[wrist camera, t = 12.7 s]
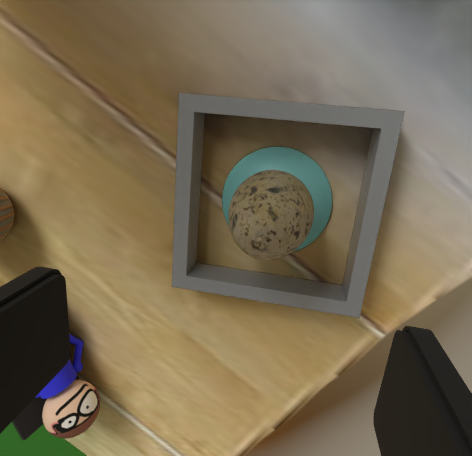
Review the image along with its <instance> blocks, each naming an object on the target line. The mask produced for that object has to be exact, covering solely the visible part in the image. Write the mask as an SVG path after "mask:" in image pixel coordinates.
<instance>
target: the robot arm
mask: <svg viewBox="0 0 472 456" xmlns="http://www.w3.org/2000/svg"><path fill="white" fill-rule="evenodd" d="M70 353H71V350H70V337H69V323H68V309H67V295H66V281H65V278H64V276H62V275H61V273H60V271H59V270H57V269H51V268H44V267H36V268H33V269H32V270H30V271H28V272H26V273H24V274H23V275H21V276H19V277H17V278H15V279H14V280H12V281H10V282H8V283H7V284H5V285H3V286H1V287H0V434H1V433H2V432H3V431H4V429H5V428H6V427H7V426H8V425H9V424H10V423H11V422H12V421H13V420H14V419H15V418H16V417H17V416H18V415H19V414H20V413H21V412H22V411H23V409H24V408H25V407H26V406H27V405H28V404H29V403H30V402H31V401H32V400H33V399H34V398H35V397H36V396H37V395H38V394H39V393H40V392H41V391H42V390H43V388H44V387H45V386H46V385H47V384H48V383H49V382H50V381H51V380H52V379H53V378H54V377H55V376H56V375H57V374H58V373H59V372H60V371H61V370H62V369H63V367H64V366H65V365H66V364H67V362H68V361H69V358H70ZM374 428H375V432H376V436H377V440H378V444H379V448H380V452H381V456H472V393H471V392H470V391H469V389H468V387H467V386H466V384H465V383H464V381H463V380H462V378H461V376H460V375H459V373H458V372H457V370H456V369H455V367H454V365H453V364H452V362H451V361H450V359H449V358H448V356H447V354H446V353H445V351H444V350H443V348H442V347H441V345H440V343H439V342H438V340H437V339H436V337H435V336H434V334H433V332H432V331H431V330H428V329H422V328H416V327H410V326H405V327H404V328H403V330H402V331H400V330H397V331H396V333H395V335H394V338H393V342H392V346H391V350H390V354H389V357H388V361H387V365H386V369H385V372H384V377H383V380H382V384H381V388H380V391H379V395H378V399H377V403H376V407H375V411H374Z"/></svg>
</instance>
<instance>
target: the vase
mask: <svg viewBox="0 0 472 456" xmlns="http://www.w3.org/2000/svg"><path fill="white" fill-rule="evenodd" d="M13 222H14V208H13V205H12V202H11V200H10V199H9V197H8V196H7V195H6V193H5V192H4V191H3V190H2V189H0V241H1V240H3V239H4V238H5V237H6V235H7V234H8V233H9V232H10V230H11V228H12V225H13Z"/></svg>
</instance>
